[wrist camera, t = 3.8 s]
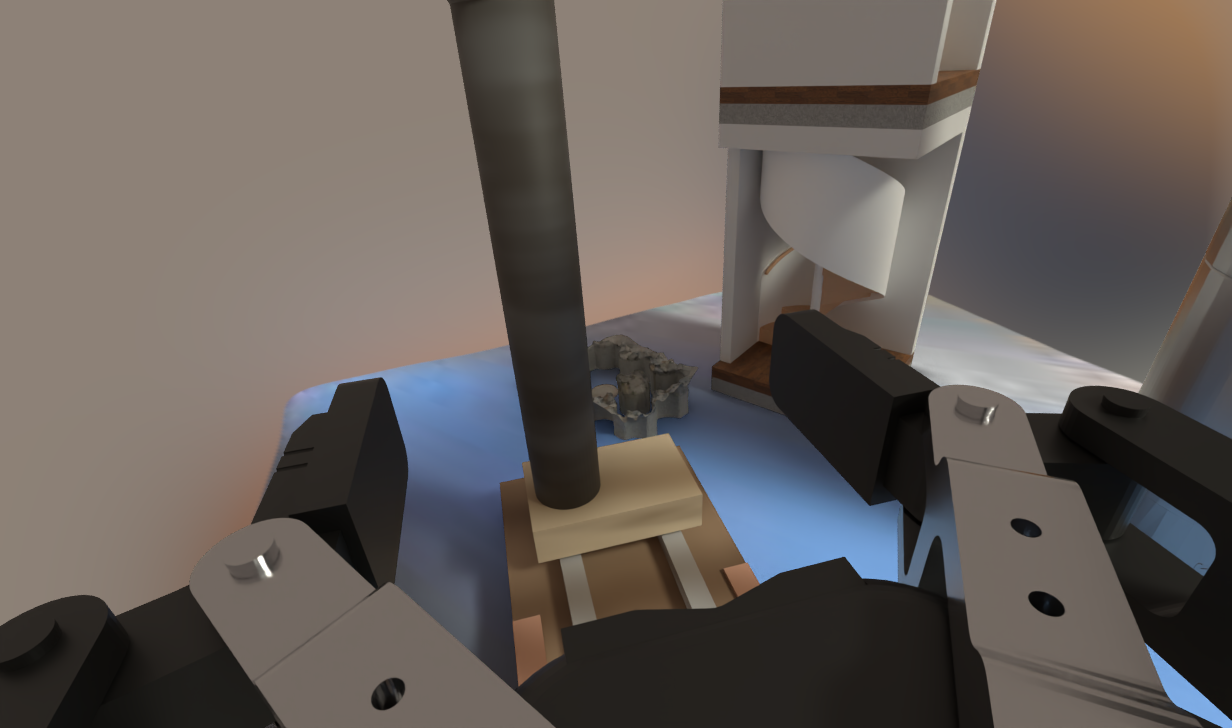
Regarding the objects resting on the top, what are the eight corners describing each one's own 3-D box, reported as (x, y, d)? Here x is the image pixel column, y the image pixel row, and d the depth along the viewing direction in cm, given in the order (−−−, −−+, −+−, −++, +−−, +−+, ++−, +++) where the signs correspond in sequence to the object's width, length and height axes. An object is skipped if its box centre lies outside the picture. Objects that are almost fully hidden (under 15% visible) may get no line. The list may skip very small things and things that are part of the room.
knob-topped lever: (527, 491, 30) (421, -86, 18) (669, 461, 31) (660, -91, 19) (538, 563, 26) (409, -130, 14) (701, 525, 27) (716, -133, 15)
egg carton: (541, 396, 45) (534, 351, 43) (613, 362, 49) (609, 319, 47) (630, 455, 37) (626, 404, 35) (705, 410, 41) (706, 362, 39)
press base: (505, 508, 33) (491, 441, 31) (679, 470, 35) (679, 405, 33) (546, 911, 18) (523, 841, 15) (856, 803, 20) (881, 725, 17)
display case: (711, 389, 43) (729, -242, 26) (773, 337, 50) (821, -190, 33) (860, 441, 37) (1018, -358, 19) (909, 373, 44) (1057, -262, 26)
